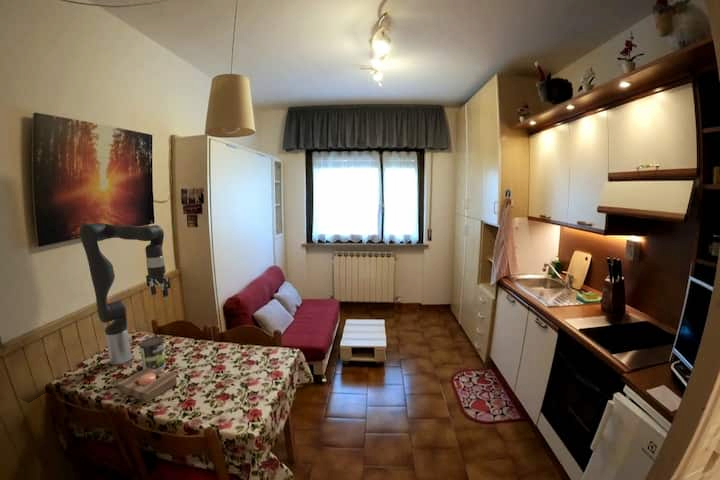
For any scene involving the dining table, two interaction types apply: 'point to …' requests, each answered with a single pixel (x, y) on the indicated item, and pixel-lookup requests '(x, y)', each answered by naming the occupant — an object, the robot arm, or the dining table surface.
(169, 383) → the wooden board
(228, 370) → the dining table surface
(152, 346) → the coffee can
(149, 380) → the pink flattened oval
